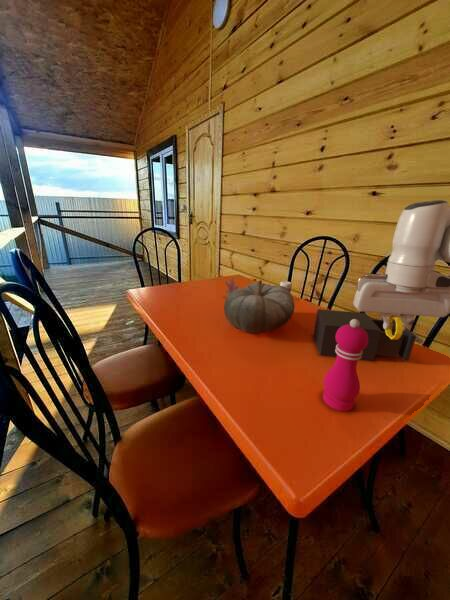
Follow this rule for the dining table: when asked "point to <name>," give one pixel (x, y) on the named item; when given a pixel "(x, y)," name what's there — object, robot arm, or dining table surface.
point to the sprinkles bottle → (286, 285)
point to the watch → (398, 326)
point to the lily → (231, 286)
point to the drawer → (396, 342)
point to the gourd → (259, 308)
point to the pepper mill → (345, 367)
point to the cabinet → (334, 320)
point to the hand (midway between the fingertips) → (393, 329)
